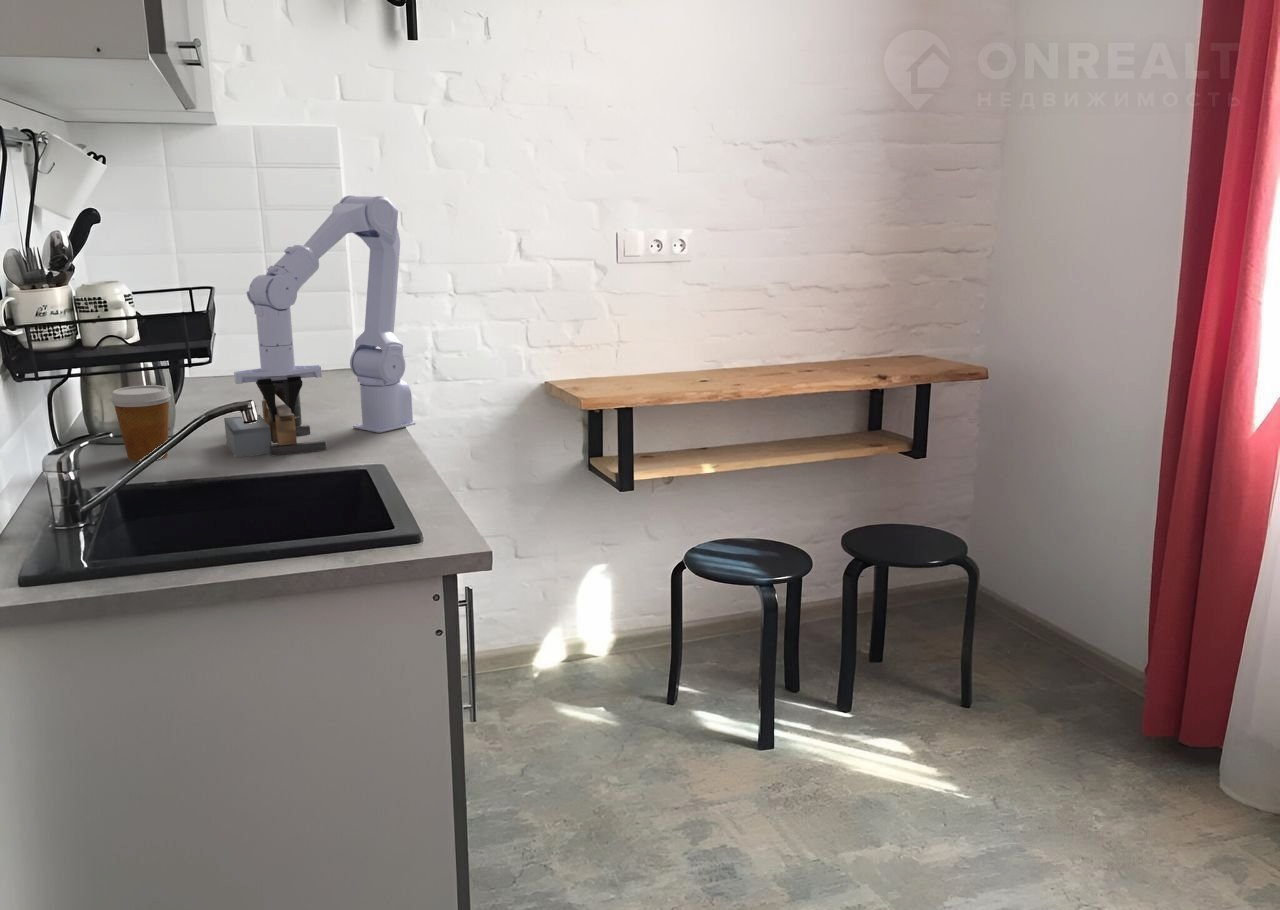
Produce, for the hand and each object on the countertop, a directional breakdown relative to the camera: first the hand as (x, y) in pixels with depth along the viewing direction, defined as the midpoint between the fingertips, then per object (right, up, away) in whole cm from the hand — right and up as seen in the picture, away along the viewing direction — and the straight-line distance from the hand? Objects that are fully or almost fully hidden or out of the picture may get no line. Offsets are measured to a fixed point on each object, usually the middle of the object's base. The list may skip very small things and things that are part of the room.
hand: (282, 420), depth 191 cm
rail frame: (0, -4, +6) cm, 7 cm away
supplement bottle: (-6, -1, +19) cm, 20 cm away
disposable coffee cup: (-22, -7, -4) cm, 23 cm away
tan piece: (-2, -4, +5) cm, 7 cm away
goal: (-6, -5, +3) cm, 8 cm away
